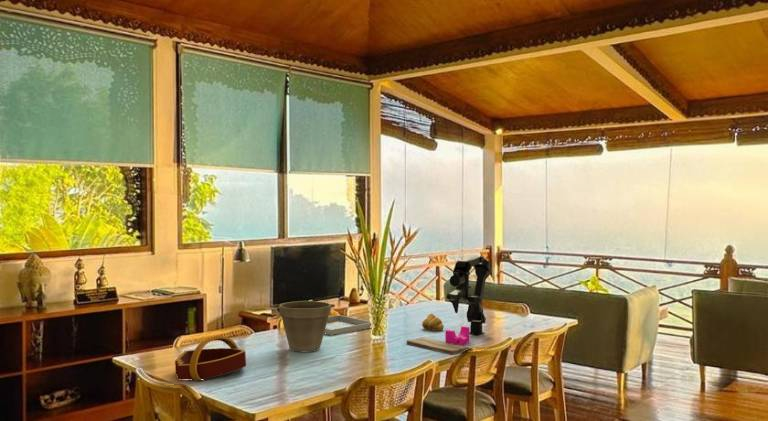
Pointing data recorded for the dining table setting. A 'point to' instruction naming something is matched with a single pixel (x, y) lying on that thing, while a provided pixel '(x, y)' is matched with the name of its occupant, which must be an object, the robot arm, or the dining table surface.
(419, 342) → the walnut board
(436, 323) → the bread roll
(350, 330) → the slate tray rim
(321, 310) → the plant pot
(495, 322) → the dining table surface
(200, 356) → the decorative basket
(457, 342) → the toy block
